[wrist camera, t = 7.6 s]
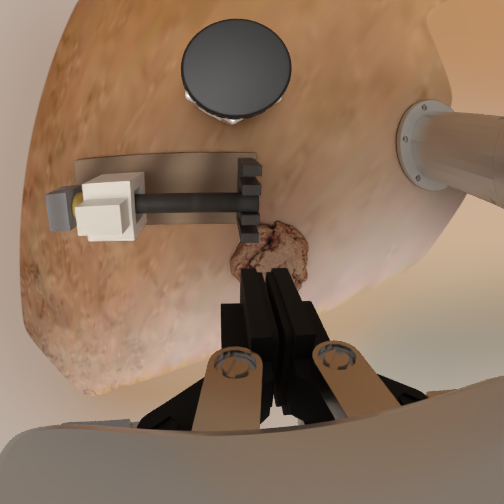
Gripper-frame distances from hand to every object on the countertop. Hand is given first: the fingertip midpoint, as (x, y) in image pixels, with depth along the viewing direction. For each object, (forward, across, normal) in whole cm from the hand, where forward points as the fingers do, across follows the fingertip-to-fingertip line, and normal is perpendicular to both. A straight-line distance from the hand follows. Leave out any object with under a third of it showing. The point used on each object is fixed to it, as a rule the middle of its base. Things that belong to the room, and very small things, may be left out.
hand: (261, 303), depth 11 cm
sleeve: (+20, +11, 0) cm, 23 cm away
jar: (+25, +1, -11) cm, 28 cm away
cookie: (+26, -5, +10) cm, 28 cm away
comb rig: (+25, +8, 0) cm, 26 cm away
